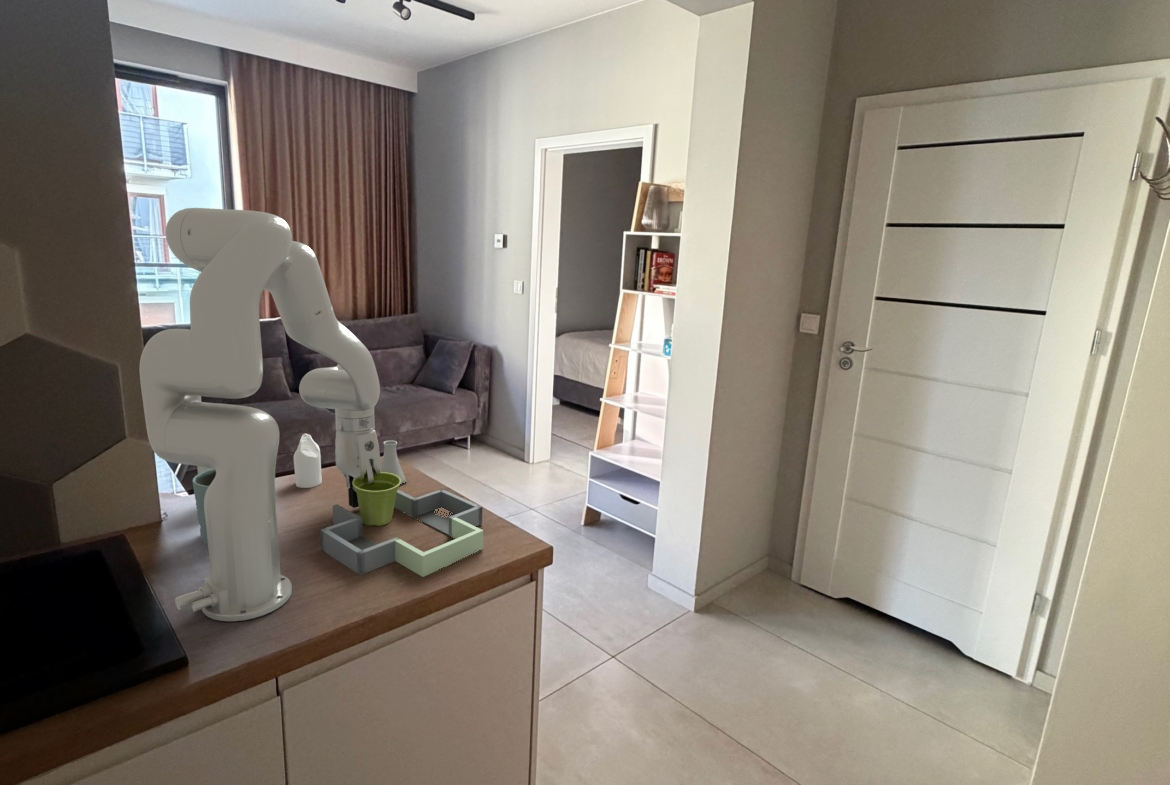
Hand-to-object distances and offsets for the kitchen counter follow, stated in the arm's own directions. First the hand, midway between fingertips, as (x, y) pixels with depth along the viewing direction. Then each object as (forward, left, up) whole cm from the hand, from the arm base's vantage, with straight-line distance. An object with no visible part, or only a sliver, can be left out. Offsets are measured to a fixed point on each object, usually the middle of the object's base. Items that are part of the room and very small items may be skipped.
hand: (357, 504), depth 131 cm
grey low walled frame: (0, -18, -1) cm, 18 cm away
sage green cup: (-23, +6, -1) cm, 24 cm away
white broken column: (0, +20, -1) cm, 20 cm away
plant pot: (0, -7, -1) cm, 7 cm away
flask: (+14, +8, -1) cm, 16 cm away
